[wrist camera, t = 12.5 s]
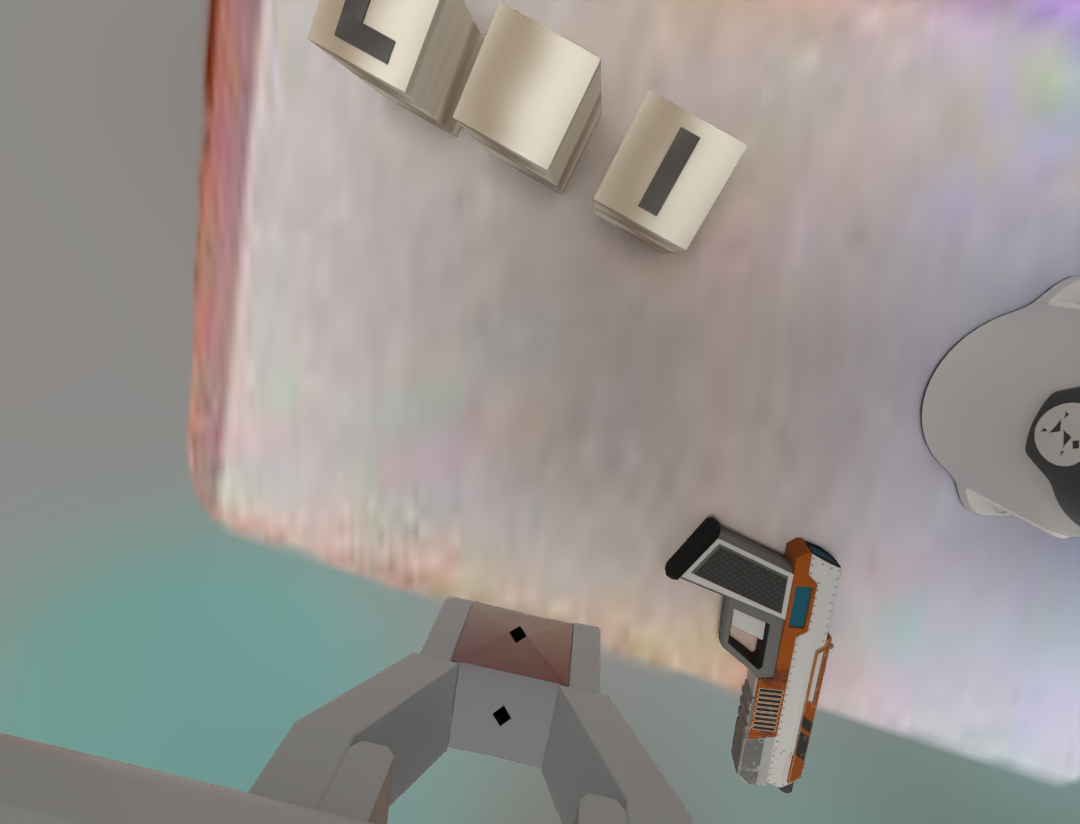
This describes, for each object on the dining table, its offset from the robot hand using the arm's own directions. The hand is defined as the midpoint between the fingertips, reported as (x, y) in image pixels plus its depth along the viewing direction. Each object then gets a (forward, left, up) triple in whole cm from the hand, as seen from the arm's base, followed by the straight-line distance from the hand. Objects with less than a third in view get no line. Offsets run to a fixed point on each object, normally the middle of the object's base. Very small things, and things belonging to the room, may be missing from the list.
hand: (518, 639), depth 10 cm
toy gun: (-20, +26, -35) cm, 48 cm away
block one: (-3, -12, -34) cm, 36 cm away
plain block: (+6, -15, -34) cm, 38 cm away
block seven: (+14, -18, -34) cm, 41 cm away
